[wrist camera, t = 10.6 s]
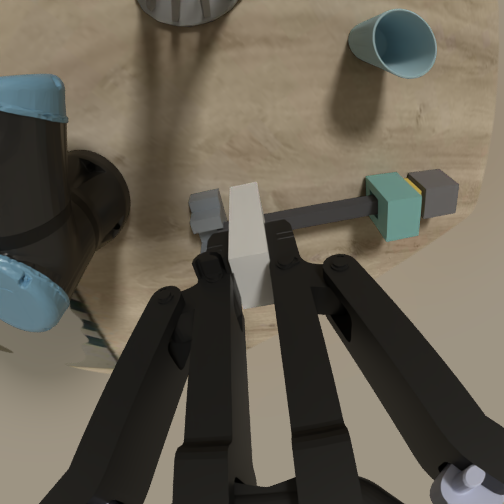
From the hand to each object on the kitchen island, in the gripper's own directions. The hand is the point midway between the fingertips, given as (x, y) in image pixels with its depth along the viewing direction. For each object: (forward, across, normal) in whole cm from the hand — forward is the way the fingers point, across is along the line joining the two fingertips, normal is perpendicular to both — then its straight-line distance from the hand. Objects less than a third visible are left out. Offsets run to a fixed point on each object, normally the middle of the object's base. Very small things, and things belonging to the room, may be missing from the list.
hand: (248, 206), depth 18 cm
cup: (+25, +18, +8) cm, 32 cm away
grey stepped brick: (+24, -7, -14) cm, 29 cm away
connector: (+24, +26, -14) cm, 38 cm away
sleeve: (+24, +18, -14) cm, 34 cm away
